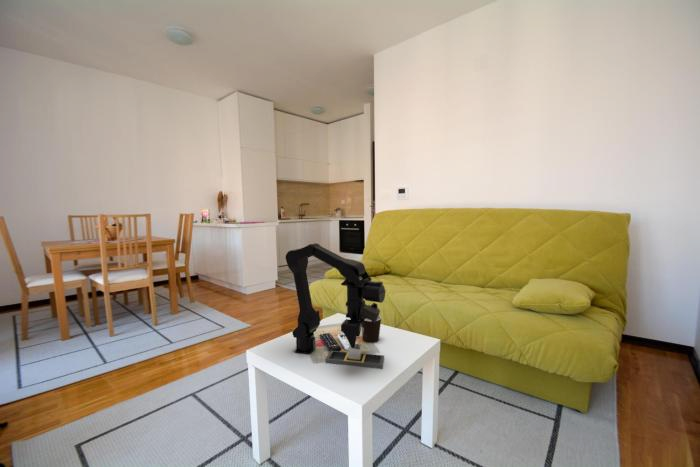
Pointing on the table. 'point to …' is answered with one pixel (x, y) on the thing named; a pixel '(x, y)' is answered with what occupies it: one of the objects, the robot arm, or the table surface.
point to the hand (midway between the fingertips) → (355, 341)
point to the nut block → (355, 353)
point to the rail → (367, 361)
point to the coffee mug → (371, 330)
